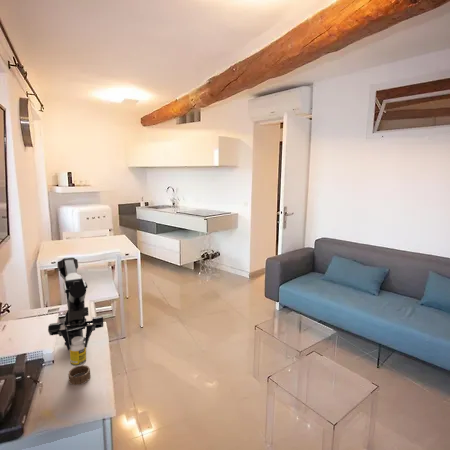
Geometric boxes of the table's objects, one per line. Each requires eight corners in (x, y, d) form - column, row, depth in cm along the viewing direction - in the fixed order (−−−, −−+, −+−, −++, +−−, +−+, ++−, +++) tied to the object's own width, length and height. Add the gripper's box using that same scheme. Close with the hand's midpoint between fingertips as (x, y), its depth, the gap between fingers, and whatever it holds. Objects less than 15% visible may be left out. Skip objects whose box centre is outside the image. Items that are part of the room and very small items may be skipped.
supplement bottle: (80, 368, 115) (78, 344, 113) (67, 366, 116) (65, 341, 114) (89, 359, 120) (88, 336, 118) (76, 357, 121) (75, 334, 119)
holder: (78, 370, 123) (77, 363, 123) (94, 374, 122) (93, 367, 121) (64, 382, 117) (64, 375, 116) (81, 386, 115) (80, 379, 114)
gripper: (46, 304, 113) (45, 348, 106) (102, 296, 121) (104, 337, 113) (50, 314, 122) (49, 355, 114) (102, 307, 129) (104, 345, 122)
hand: (77, 348), depth 116 cm, fingers closed on supplement bottle, 5 cm apart
